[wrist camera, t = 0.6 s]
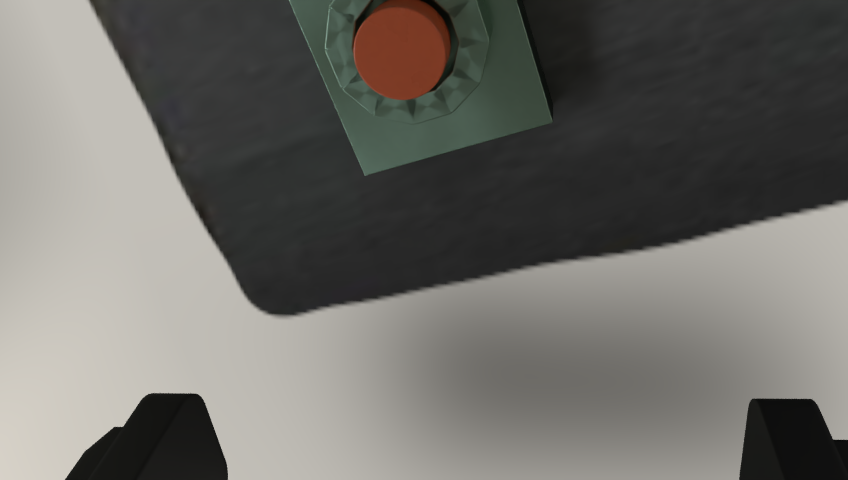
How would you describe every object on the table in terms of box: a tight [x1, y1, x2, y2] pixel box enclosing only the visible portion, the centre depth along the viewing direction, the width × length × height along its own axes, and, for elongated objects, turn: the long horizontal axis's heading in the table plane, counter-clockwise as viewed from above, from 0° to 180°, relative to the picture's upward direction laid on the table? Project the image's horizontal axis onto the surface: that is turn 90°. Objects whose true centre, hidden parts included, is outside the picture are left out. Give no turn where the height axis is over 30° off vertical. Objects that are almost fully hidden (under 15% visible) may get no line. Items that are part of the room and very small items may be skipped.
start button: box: [353, 0, 451, 100], centre depth 29 cm, size 4×4×2 cm
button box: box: [289, 0, 553, 176], centre depth 31 cm, size 11×9×4 cm
